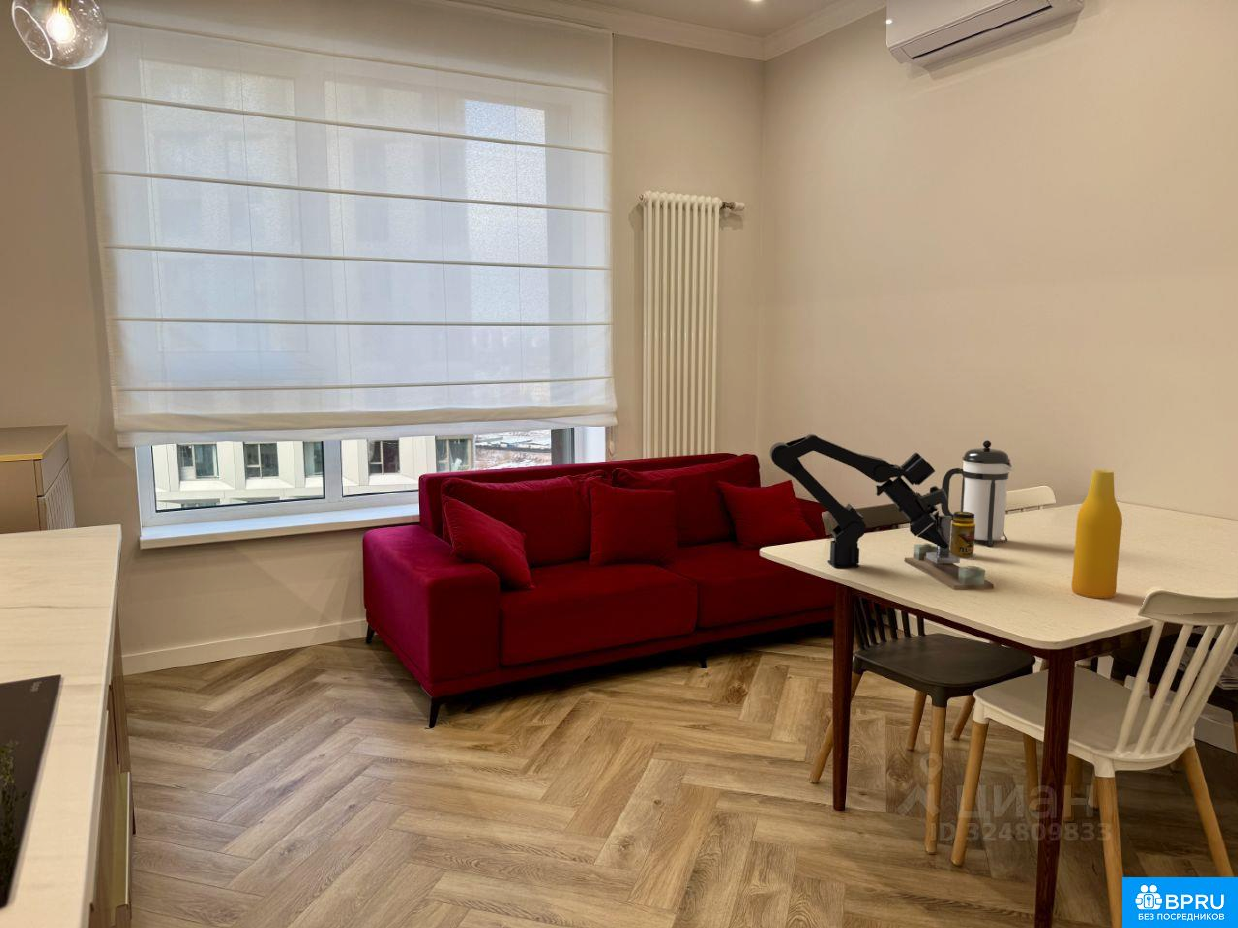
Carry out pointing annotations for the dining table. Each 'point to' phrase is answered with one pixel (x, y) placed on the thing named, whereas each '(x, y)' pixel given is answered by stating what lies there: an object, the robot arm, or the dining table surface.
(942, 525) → the carriage
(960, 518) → the condiment
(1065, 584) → the dining table surface
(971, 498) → the coffee press
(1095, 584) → the beer bottle
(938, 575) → the board
